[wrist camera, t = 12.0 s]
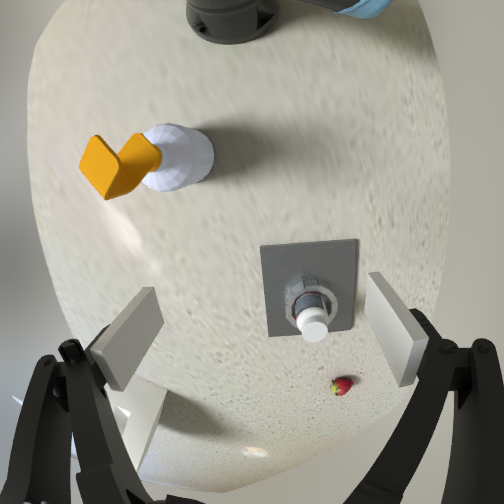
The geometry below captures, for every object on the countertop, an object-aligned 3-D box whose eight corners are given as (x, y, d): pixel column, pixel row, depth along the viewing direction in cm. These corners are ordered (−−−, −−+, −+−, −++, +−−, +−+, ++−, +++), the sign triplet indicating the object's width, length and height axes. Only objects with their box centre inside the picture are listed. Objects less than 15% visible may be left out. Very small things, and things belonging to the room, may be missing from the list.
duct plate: (260, 245, 45) (259, 252, 42) (354, 238, 43) (359, 244, 40) (268, 334, 51) (268, 343, 48) (349, 327, 49) (353, 336, 46)
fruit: (348, 386, 55) (351, 402, 50) (325, 384, 55) (327, 400, 50) (355, 374, 54) (360, 390, 49) (332, 372, 54) (335, 388, 49)
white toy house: (158, 421, 66) (134, 486, 43) (113, 400, 66) (81, 460, 42) (167, 389, 60) (135, 468, 36) (114, 364, 59) (69, 433, 36)
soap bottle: (226, 156, 40) (167, 156, 17) (187, 195, 43) (100, 240, 20) (189, 118, 39) (100, 86, 16) (152, 158, 41) (46, 170, 18)
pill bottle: (288, 299, 47) (290, 329, 39) (313, 283, 46) (320, 311, 37) (304, 319, 48) (309, 350, 40) (328, 304, 47) (337, 334, 38)
